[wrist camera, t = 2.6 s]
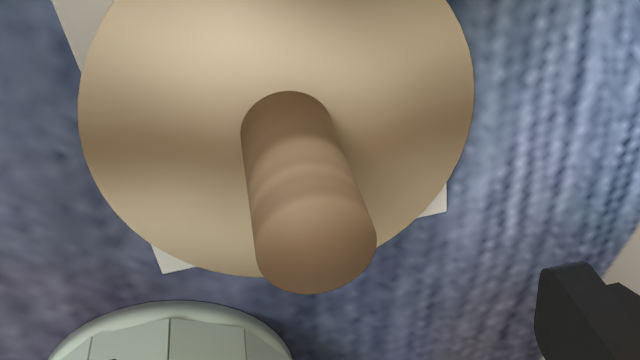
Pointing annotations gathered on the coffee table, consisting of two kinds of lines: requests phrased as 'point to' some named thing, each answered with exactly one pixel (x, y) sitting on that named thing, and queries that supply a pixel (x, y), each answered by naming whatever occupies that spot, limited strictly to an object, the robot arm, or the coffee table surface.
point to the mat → (80, 28)
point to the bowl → (173, 335)
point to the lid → (275, 128)
